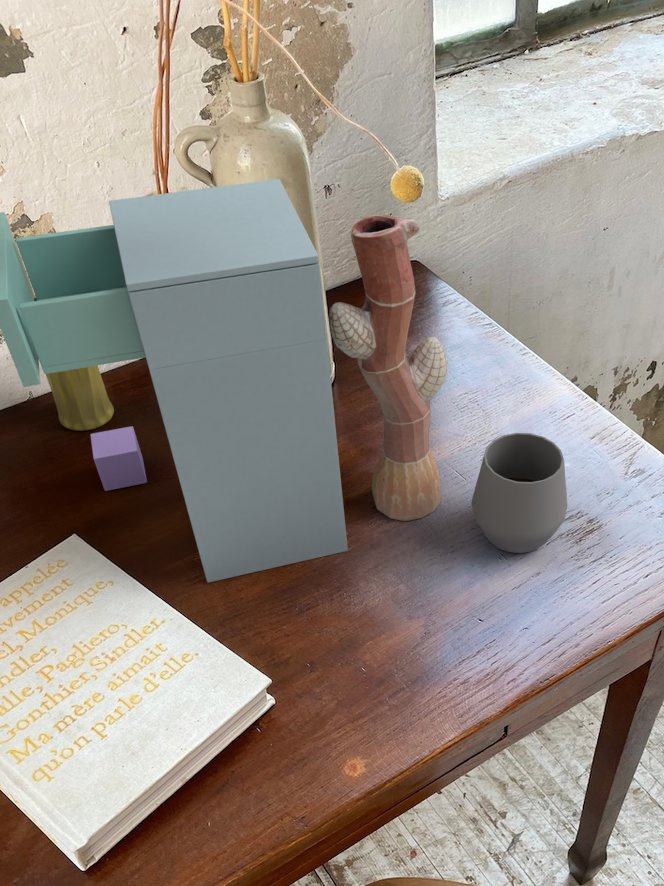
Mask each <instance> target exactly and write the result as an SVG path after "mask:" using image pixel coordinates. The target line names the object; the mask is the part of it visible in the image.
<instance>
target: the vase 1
mask: <svg viewBox="0 0 664 886" xmlns="http://www.w3.org/2000/svg"><path fill="white" fill-rule="evenodd" d="M34 301H37V299H36V296H35V294H34ZM101 374H102V373H101V372H100V368H99V365H97V366H91V367H85V368H79V369H73V370H67V371H61V372H55V373H49V374H45V376H46V379H47V382H48V386H49V387H50V391H51V394H52V396H53V400H54V403H55V407H56V409H57V410H56V411H57V414H58V420H59V423H60V424H61V425H62V426H63V427H64V428H65V429H68V430H71V431H76V432H86V431H92V430H95V429H98V428H101V427H102V426H104V425H106V424H108V423H109V422H110V421H111V420H112V418H113V416H114V414H115V409H114V408H115V407H114V405H113V403H112V402H111V400H110V398H109V396H108V392H107V390H106V386H105V383H104V381H103V377H102V375H101Z"/></svg>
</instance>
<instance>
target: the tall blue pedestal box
mask: <svg viewBox="0 0 664 886" xmlns="http://www.w3.org/2000/svg"><path fill="white" fill-rule="evenodd" d="M108 204H109V209H110V215H111V219H112V225H114V229H115V233H116V238H117V243H118V248H119V253H120V257H121V262H122V267H123V272H124V277H125V282H126V286H127V290H128V293H129V297H130V301H131V304H132V308H133V312H134V315H135V319H136V323H137V326H138V330H139V334H140V337H141V341H142V345H143V348H144V352H145V356H146V357H145V359H146V363H147V366H148V370H149V375H150V377H151V382H152V385H153V389H154V392H155V396H156V399H157V403H158V407H159V411H160V414H161V419H162V422H163V425H164V429H165V433H166V436H167V440H168V444H169V448H170V451H171V455H172V458H173V462H174V465H175V469H176V472H177V476H178V477H177V478H178V481H179V484H180V488H181V491H182V495H183V499H184V502H185V505H186V510H187V513H188V517H189V521H190V523H191V524H190V525H191V528H192V532H193V536H194V539H195V543H196V546H197V550H198V553H199V558H200V561H201V565H202V568H203V573H204V577H205V579H206V583H207V584H209V583H212V582H218V581H221V580H222V581H223V580H226V579H230V578H235V577H239V576H244V575H247V574H248V575H249V574H252V573H258V572H261V571H266V570H270V569H274V568H279V567H283V566H288V565H292V564H296V563H301V562H306V561H310V560H313V559H319V558H323V557H328V556H332V555H335V554H340V553H345V552H348V550H349V548H348V540H347V538H348V537H347V529H346V520H345V509H344V498H343V489H342V479H341V468H340V459H339V458H340V457H339V449H338V439H337V438H338V437H337V428H336V427H337V426H336V418H335V408H334V407H335V406H334V398H333V387H332V377H331V367H330V359H329V348H328V338H327V328H326V317H325V308H324V296H323V285H322V277H321V267H320V257H319V254H318V252H317V250H316V248H315V246H314V244H313V242H312V240H311V238H310V236H309V234H308V232H307V230H306V228H305V226H304V224H303V223H302V220H301V218H300V216H299V214H298V213H297V210H296V208H295V207H294V204H293V202H292V200H291V198H290V197H289V194H288V193H287V191H286V188H285V187H284V185H283V183H282V181H281V179H280V178H274V179H267V180H260V181H253V182H245V183H237V184H230V185H221V186H212V187H206V188H205V187H204V188H199V189H189V190H182V191H175V192H173V191H172V192H165V193H158V194H152V195H144V196H135V197H128V198H127V197H126V198H120V199H112V200H109V201H108Z"/></svg>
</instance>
